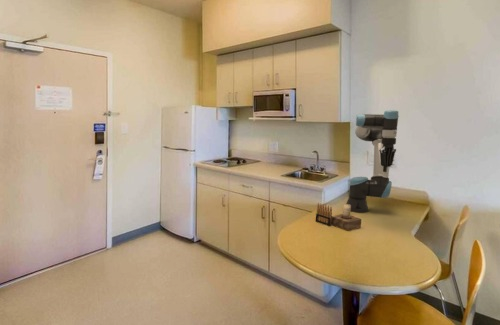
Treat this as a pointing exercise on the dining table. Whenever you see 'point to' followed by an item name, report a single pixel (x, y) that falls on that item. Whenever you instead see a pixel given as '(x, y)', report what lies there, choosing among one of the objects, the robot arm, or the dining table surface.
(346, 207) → the peg
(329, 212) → the ammunition clip
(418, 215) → the dining table surface
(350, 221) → the socket block
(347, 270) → the dining table surface
